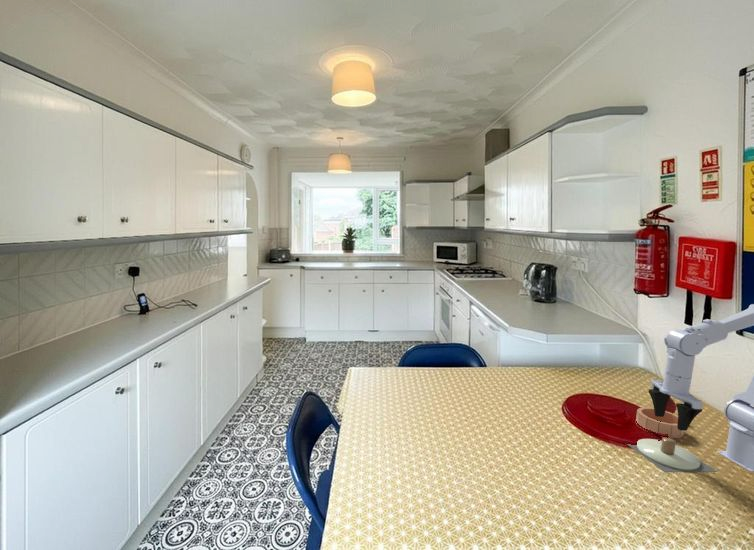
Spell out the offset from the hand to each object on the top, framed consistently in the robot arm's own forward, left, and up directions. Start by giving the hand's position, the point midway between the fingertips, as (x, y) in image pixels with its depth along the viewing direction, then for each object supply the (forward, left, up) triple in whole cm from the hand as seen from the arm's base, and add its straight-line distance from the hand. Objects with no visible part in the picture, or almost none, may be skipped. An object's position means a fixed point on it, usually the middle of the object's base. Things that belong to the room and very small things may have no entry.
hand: (670, 422), depth 106 cm
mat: (0, 0, -10) cm, 10 cm away
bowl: (+15, -11, -10) cm, 21 cm away
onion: (+24, -21, -10) cm, 33 cm away
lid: (0, 0, -9) cm, 9 cm away
